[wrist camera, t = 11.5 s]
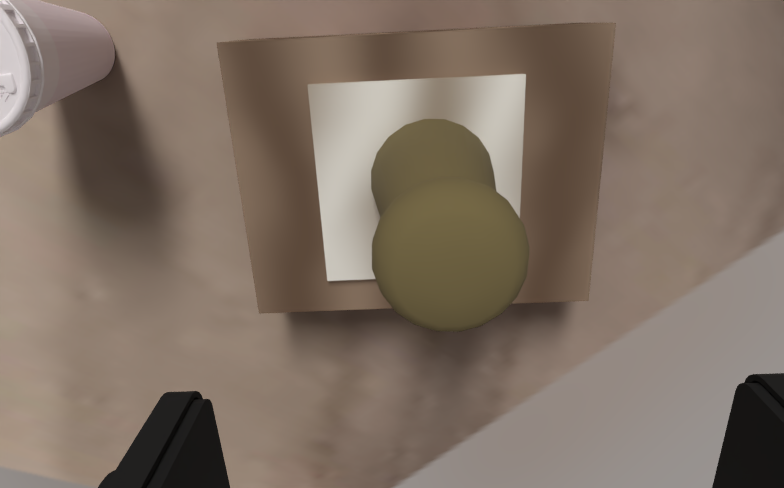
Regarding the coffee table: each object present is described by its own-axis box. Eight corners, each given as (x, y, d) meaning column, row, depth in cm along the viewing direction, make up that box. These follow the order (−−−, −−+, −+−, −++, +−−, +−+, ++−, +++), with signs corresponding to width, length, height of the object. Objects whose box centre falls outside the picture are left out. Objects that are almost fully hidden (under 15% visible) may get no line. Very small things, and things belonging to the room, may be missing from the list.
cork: (498, 229, 28) (557, 349, 18) (380, 245, 28) (371, 372, 18) (488, 109, 25) (551, 167, 15) (361, 128, 26) (338, 196, 16)
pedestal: (580, 22, 29) (619, 22, 24) (562, 263, 34) (590, 304, 29) (244, 39, 29) (213, 43, 24) (277, 274, 35) (257, 317, 30)
